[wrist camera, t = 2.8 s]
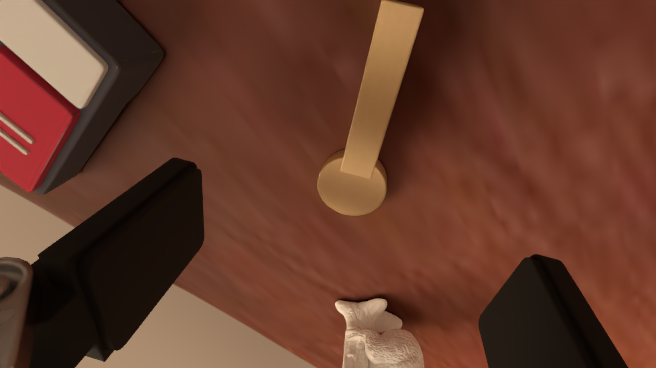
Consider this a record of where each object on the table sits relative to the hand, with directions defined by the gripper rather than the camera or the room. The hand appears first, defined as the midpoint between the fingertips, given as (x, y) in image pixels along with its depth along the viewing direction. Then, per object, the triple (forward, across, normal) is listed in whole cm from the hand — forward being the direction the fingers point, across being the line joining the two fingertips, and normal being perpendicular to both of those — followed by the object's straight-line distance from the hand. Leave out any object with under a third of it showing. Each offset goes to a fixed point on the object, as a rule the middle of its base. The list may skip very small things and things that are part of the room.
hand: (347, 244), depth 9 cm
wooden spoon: (+11, 0, 0) cm, 11 cm away
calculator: (+11, +22, +2) cm, 24 cm away
